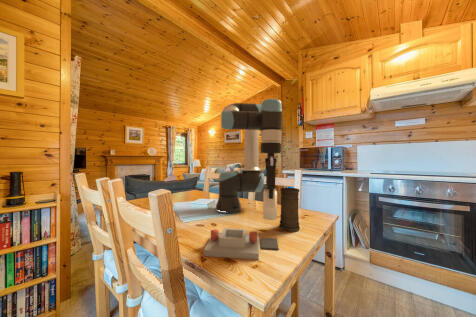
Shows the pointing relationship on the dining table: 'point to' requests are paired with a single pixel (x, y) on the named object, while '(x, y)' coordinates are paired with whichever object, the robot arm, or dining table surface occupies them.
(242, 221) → the dining table surface
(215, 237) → the plunger
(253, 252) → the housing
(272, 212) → the cylinder
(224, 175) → the robot arm
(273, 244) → the mat
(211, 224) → the dining table surface
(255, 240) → the plunger
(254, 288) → the dining table surface
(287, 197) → the container
